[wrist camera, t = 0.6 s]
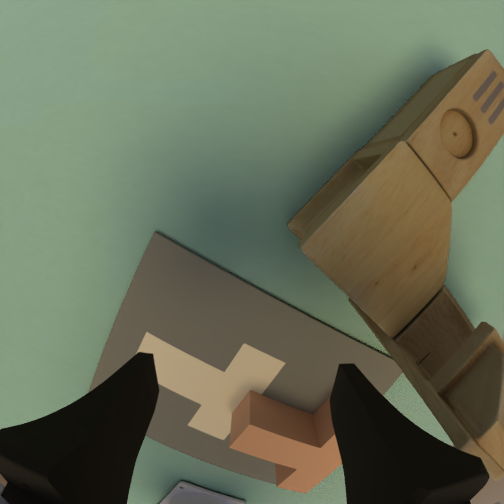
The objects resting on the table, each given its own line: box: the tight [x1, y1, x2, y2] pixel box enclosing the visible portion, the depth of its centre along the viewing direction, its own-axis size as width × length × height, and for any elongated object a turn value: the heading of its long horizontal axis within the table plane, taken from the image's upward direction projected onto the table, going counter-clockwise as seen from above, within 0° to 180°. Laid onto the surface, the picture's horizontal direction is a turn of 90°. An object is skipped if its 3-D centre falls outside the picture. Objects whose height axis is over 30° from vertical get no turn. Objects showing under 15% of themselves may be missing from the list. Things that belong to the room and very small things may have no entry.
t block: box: [229, 390, 342, 493], centre depth 22 cm, size 9×9×4 cm
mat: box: [89, 232, 402, 484], centre depth 24 cm, size 18×22×1 cm
